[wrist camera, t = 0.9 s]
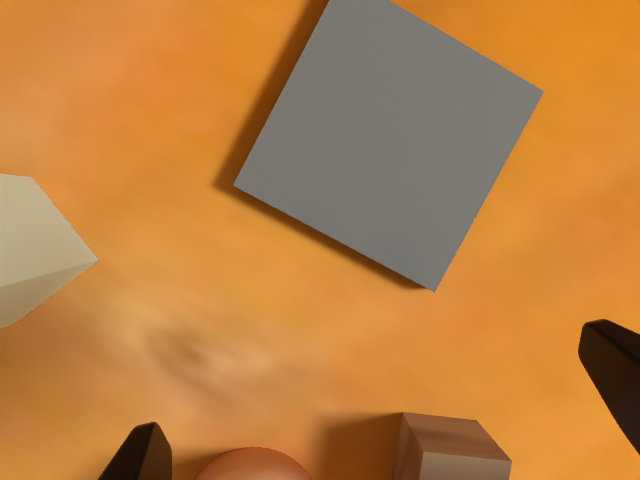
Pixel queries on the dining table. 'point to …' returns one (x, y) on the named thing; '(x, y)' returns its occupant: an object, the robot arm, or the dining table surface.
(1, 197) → the sage block
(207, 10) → the dining table surface
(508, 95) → the slate trivet
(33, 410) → the dining table surface
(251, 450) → the peach cylinder
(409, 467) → the walnut block
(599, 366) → the robot arm
